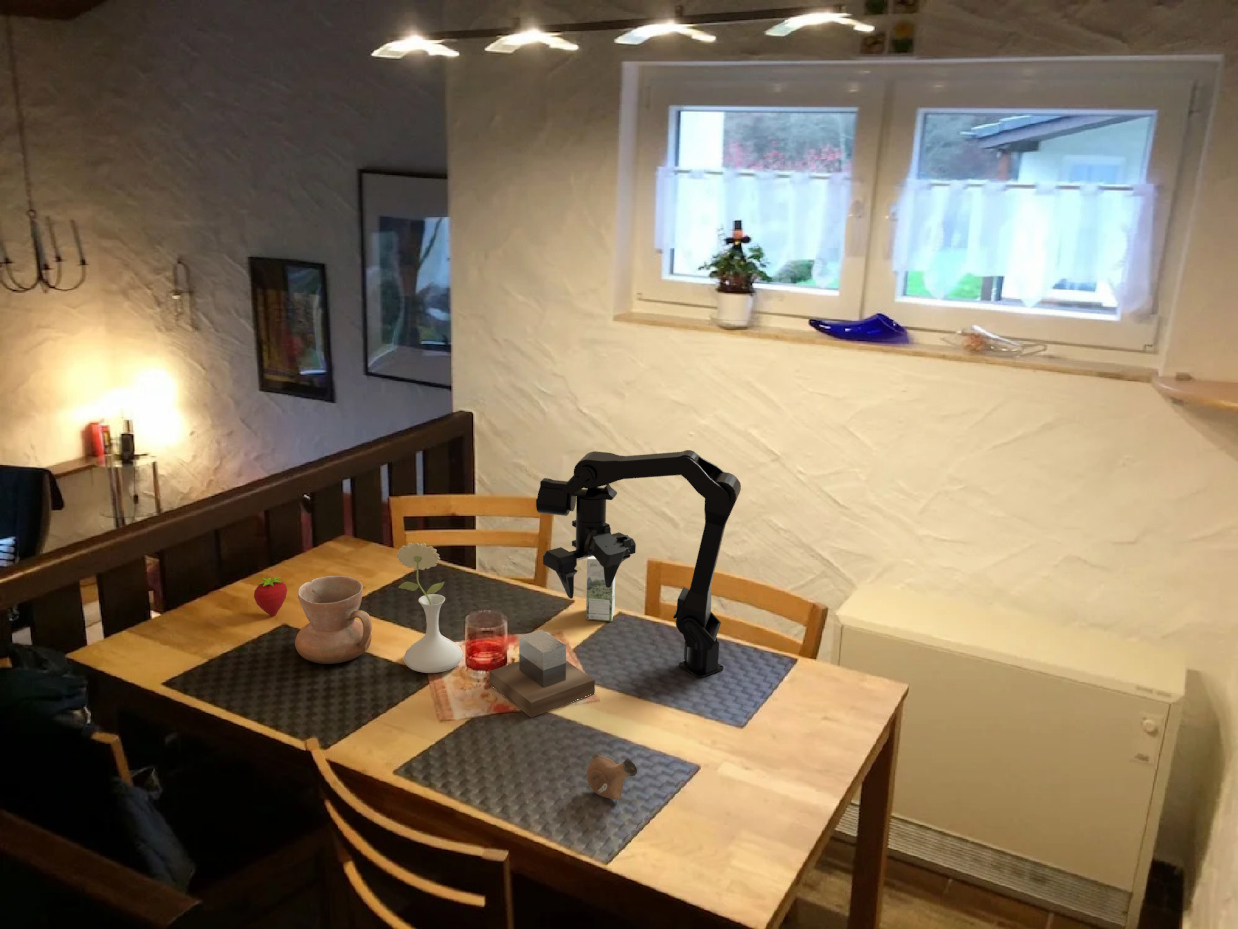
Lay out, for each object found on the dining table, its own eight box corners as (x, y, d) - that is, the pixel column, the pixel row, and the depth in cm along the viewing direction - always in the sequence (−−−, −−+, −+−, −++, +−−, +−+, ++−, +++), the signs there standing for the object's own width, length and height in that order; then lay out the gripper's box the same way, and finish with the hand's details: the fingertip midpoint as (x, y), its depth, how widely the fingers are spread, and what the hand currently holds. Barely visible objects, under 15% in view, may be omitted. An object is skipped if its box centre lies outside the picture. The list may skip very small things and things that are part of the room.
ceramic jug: (275, 656, 201) (270, 590, 196) (330, 628, 213) (326, 565, 208) (342, 683, 192) (338, 614, 188) (396, 652, 204) (393, 587, 200)
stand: (594, 694, 190) (594, 679, 189) (531, 717, 182) (531, 702, 181) (551, 664, 201) (551, 650, 200) (489, 685, 192) (489, 671, 191)
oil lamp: (642, 802, 159) (643, 757, 157) (628, 815, 156) (629, 769, 154) (594, 782, 164) (595, 738, 161) (579, 795, 160) (580, 750, 158)
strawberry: (249, 620, 216) (245, 576, 213) (273, 606, 222) (270, 563, 219) (271, 625, 214) (267, 581, 211) (295, 611, 220) (292, 568, 217)
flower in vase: (473, 656, 203) (471, 538, 196) (445, 683, 193) (442, 559, 185) (415, 645, 207) (410, 529, 200) (384, 671, 197) (379, 549, 189)
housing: (519, 670, 192) (519, 636, 190) (541, 663, 195) (541, 629, 193) (543, 688, 186) (543, 653, 184) (565, 680, 189) (566, 645, 187)
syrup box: (614, 611, 225) (616, 549, 220) (612, 622, 219) (613, 559, 215) (589, 609, 225) (590, 547, 221) (585, 621, 219) (586, 558, 215)
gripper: (576, 540, 186) (574, 619, 190) (655, 520, 197) (652, 595, 202) (541, 522, 194) (541, 598, 199) (619, 504, 205) (617, 576, 210)
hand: (589, 592), depth 202 cm, fingers open, 9 cm apart
